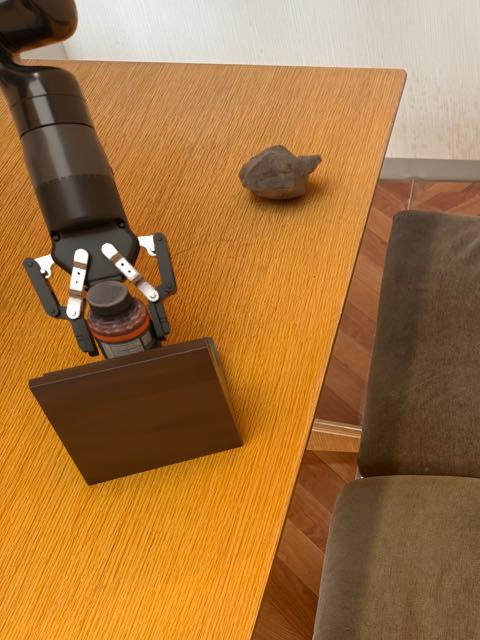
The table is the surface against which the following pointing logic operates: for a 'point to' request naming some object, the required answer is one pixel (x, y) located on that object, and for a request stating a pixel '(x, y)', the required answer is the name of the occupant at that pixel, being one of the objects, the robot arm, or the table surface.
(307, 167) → the fossil
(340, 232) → the table surface
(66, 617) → the table surface
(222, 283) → the table surface
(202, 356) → the brown wooden box
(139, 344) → the supplement bottle
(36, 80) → the robot arm
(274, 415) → the table surface
